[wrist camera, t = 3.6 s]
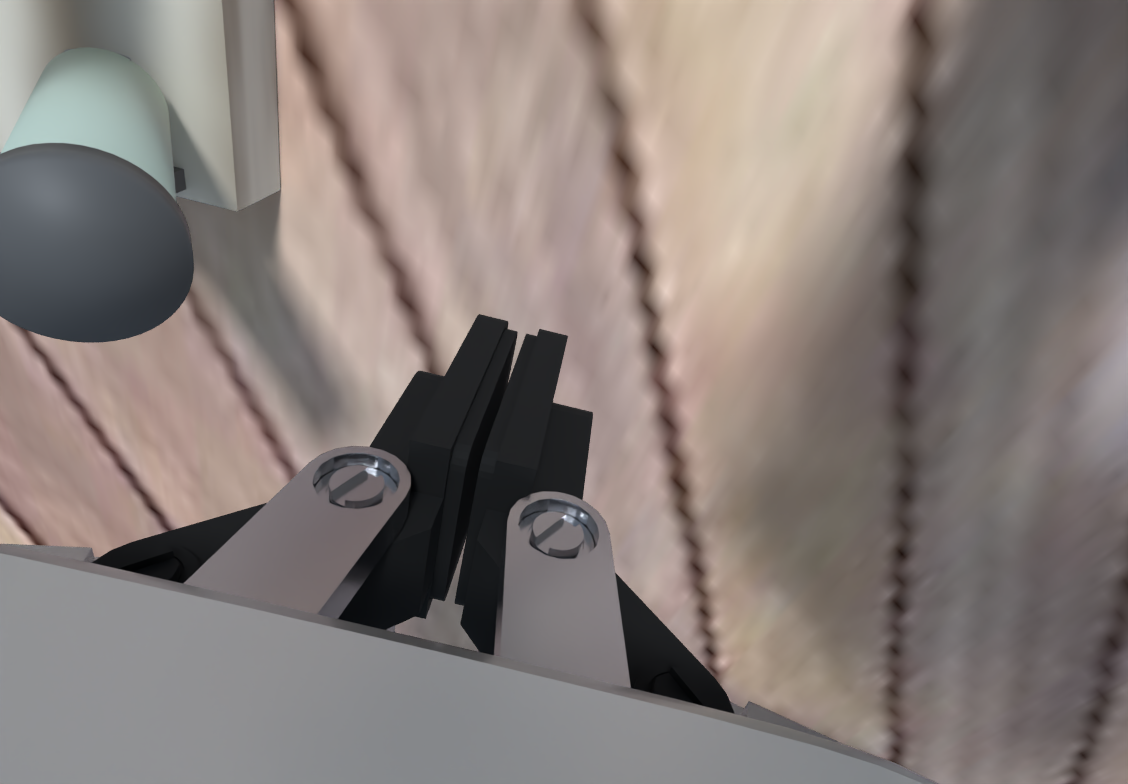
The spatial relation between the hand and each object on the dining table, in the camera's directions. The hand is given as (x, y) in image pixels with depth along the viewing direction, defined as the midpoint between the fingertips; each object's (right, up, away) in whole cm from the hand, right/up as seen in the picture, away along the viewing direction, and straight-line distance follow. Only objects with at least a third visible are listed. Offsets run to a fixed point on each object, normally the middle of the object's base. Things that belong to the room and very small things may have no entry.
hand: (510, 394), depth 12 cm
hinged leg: (-13, +9, +7) cm, 17 cm away
